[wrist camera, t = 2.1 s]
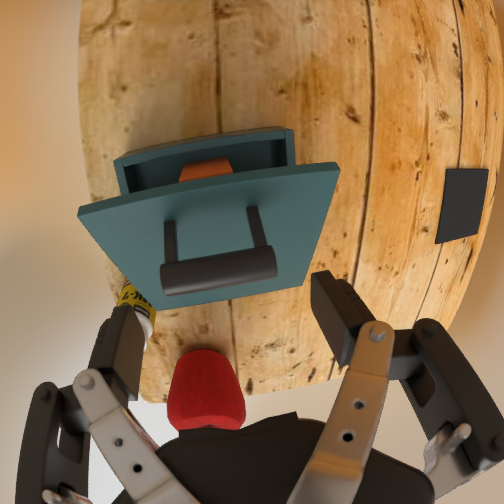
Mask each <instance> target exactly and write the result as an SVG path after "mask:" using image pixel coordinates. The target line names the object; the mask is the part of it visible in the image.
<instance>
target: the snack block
mask: <svg viewBox="0 0 504 504" xmlns="http://www.w3.org/2000/svg"><path fill="white" fill-rule="evenodd" d="M232 173H233V170H232V168H231V166H230V164H229V162H228V160H227V158H226V156H220V157H214V158H208V159H203V160H197V161H191V162H186V163H185V164H184V167H183V170H182V173H181V176H180V178H179V183H181V182H186V181H191V180H197V179H202V178H208V177H214V176H220V175H226V174H232Z"/></svg>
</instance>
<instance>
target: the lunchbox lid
mask: <svg viewBox="0 0 504 504" xmlns="http://www.w3.org/2000/svg"><path fill="white" fill-rule="evenodd" d="M339 174H340V168H339V166H338V165H337V163H336V162H324V163H313V164H303V165H293V166H284V167H276V168H268V169H260V170H253V171H246V172H239V173H232V174H226V175H220V176H214V177H208V178H202V179H197V180H191V181H186V182H181V183H176V184H171V185H166V186H161V187H156V188H152V189H147V190H143V191H139V192H134V193H130V194H126V195H122V196H118V197H114V198H110V199H106V200H102V201H98V202H95V203H91V204H88V205H84V206H80V207H79V210H78V214H77V217H78V218H79V220H80V221H81V222H82V223H83V225H84V226H85V228H86V229H87V230H88V232H89V233H90V234H91V236H92V237H93V238H94V239H95V241H96V242H97V243H98V244H99V246H100V247H101V248H102V249H103V251H104V252H105V253H106V254H107V255H108V257H109V258H110V259H111V260H112V261H113V263H114V264H115V265H116V266H117V267H118V269H119V270H120V271H121V272H122V273H123V274H124V275H125V277H126V278H127V279H128V280H129V281H130V282H131V283H132V284H133V286H134V287H135V288H136V289H137V290H138V291H139V292H140V293H141V294H142V295H143V297H144V298H145V299H146V300H147V301H148V302H149V303H150V304H151V305H152V306H153V307H154V308H155V309H156V310H157V311H161V310H168V309H174V308H181V307H187V306H193V305H200V304H206V303H212V302H217V301H223V300H229V299H234V298H240V297H246V296H251V295H256V294H262V293H267V292H272V291H277V290H282V289H287V288H292V287H297V286H302V285H303V282H304V279H305V277H306V274H307V271H308V268H309V265H310V263H311V260H312V257H313V254H314V251H315V248H316V245H317V243H318V240H319V237H320V234H321V231H322V228H323V225H324V222H325V219H326V216H327V212H328V209H329V206H330V203H331V200H332V197H333V193H334V190H335V187H336V184H337V180H338V177H339Z"/></svg>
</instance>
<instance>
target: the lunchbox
mask: <svg viewBox="0 0 504 504" xmlns="http://www.w3.org/2000/svg"><path fill="white" fill-rule="evenodd" d="M220 156H226V158H227V160H228V162H229V164H230V166H231V168H232V170H233V173H239V172H246V171H253V170H260V169H268V168H276V167H284V166H293V165H296V162H295V148H294V134H293V130H292V129H289V128H285V127H281V126H277V127H267V128H257V129H248V130H240V131H233V132H226V133H219V134H212V135H206V136H200V137H195V138H189V139H184V140H179V141H174V142H169V143H165V144H160V145H156V146H151V147H147V148H143V149H139V150H135V151H131V152H127V153H125V154H123V155H122V156H120V157H118V158H117V159H115V160H114V161H113V162H114V167H115V171H116V175H117V179H118V183H119V187H120V191H121V195H126V194H130V193H134V192H139V191H143V190H147V189H152V188H156V187H161V186H166V185H171V184H176V183H179V178H180V176H181V173H182V170H183V167H184V164H185V163H186V162H191V161H197V160H203V159H208V158H214V157H220Z"/></svg>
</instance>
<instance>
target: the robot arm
mask: <svg viewBox="0 0 504 504" xmlns="http://www.w3.org/2000/svg"><path fill="white" fill-rule="evenodd" d="M310 301H311V308H312V311H313V314H314V316H315V318H316V320H317V322H318V324H319V326H320V328H321V330H322V332H323V334H324V336H325V338H326V340H327V342H328V344H329V346H330V348H331V350H332V352H333V354H334V356H335V358H336V360H337V362H338V364H339V366H340V367H342V366H345V365H348V366H349V367H348V369H347V370H346V373H345V376H344V379H343V381H342V384H341V387H340V390H339V392H338V395H337V398H336V400H335V403H334V405H333V408H332V410H331V413H330V415H329V418H328V420H327V422H326V423H325V422H322V421H319V420H314V419H307V418H306V419H305V418H298V416H297V413H296V411H295V412H291V413H287V414H282V415H279V416H273V417H268V418H265V419H263V420H261V421H258V422H256V423H254V424H251V425H249V426H247V427H244V428H241V429H238V430H231V429H220V428H210V427H203V428H193V429H180V430H179V437H178V438H175V439H173V440H171V441H169V442H167V443H165V444H164V445H162V446H161V447H159V446H158V445H157V444H156V443H155V441H154V440H153V439H152V438H151V437H150V436H149V435H148V433H147V432H146V431H145V429H144V428H143V427H142V426H141V424H140V423H139V422H138V420H137V419H136V418H135V416H134V415H133V414H132V412H131V411H130V410H129V409H128V401H138V391H139V383H140V375H141V367H142V360H143V353H144V346H145V334H144V330H143V328H142V326H141V324H140V322H139V319H138V317H137V315H136V313H135V311H134V308H133V307H132V305H130V304H129V305H122V306H115V307H114V309H113V312H112V315H111V318H109V319H106V320H105V322H104V323H103V324H102V326H101V327H100V329H99V333H98V337H97V339H96V342H95V345H94V348H93V351H92V355H91V358H90V361H89V365H88V368H87V369H86V370H83V371H81V372H80V373H79V374H78V375H77V376H76V377H75V379H74V381H73V384H72V385H69V386H66V387H63V388H59V389H58V388H57V387H56V386H55V384H54V383H52V382H44V383H42V384H40V385H39V386H38V387H37V388H36V390H35V391H34V394H33V397H32V401H31V404H30V409H29V412H28V416H27V421H26V426H25V430H24V434H23V440H22V445H21V451H20V457H19V464H18V472H17V481H16V495H15V504H93V503H92V502H91V501H90V500H89V499H88V470H89V467H88V466H89V450H90V438H91V436H92V437H93V439H94V441H95V443H96V445H97V446H98V448H99V449H100V451H101V453H102V455H103V456H104V458H105V460H106V461H107V463H108V464H109V466H110V467H111V469H112V470H113V472H114V473H115V475H116V476H117V478H118V479H119V481H120V482H121V484H122V485H123V486H124V490H123V491H122V492H121V494H119V495H118V497H117V498H116V499H115V500H114V501H113V502H112V504H434V503H435V500H436V499H438V498H440V497H442V496H443V495H445V494H447V493H448V492H450V491H452V490H453V489H455V488H456V487H458V486H460V485H463V484H464V483H466V482H468V481H470V480H472V479H473V478H475V477H477V476H479V475H480V474H482V473H484V472H485V471H487V470H488V469H490V468H492V467H493V466H495V465H496V464H498V463H499V462H501V461H502V460H503V459H504V418H503V416H502V415H501V413H500V411H499V409H498V408H497V406H496V404H495V403H494V401H493V399H492V397H491V396H490V394H489V393H488V391H487V389H486V388H485V386H484V385H483V383H482V382H481V380H480V378H479V377H478V375H477V374H476V372H475V371H474V369H473V368H472V367H471V365H470V363H469V362H468V361H467V359H466V358H465V356H464V355H463V353H462V352H461V351H460V349H459V348H458V346H457V345H456V344H455V342H454V341H453V339H452V338H451V337H450V335H449V334H448V333H447V331H446V330H445V329H444V327H443V326H442V325H441V324H440V323H439V322H437V321H436V320H434V319H430V318H423V319H420V320H418V321H417V322H416V323H415V324H414V327H413V329H404V330H393V328H392V327H391V326H390V325H389V324H387V323H385V322H382V321H377V320H376V319H375V317H374V316H373V314H372V313H371V312H370V310H369V309H368V308H367V306H366V305H365V303H364V302H363V301H362V299H360V297H359V295H358V294H357V293H356V291H355V290H354V288H353V287H352V286H351V284H349V283H348V282H346V281H344V280H343V279H337V280H336V279H335V278H334V277H333V275H332V274H331V272H330V271H329V270H325V271H320V272H315V273H312V274H311V298H310ZM389 380H399V381H400V383H401V385H402V387H403V389H404V391H405V393H406V395H407V397H408V399H409V401H410V403H411V405H412V407H413V409H414V411H415V413H416V415H417V417H418V419H419V422H420V424H421V426H422V428H423V430H424V432H425V434H426V437H427V439H428V441H429V442H428V443H427V445H426V446H425V449H424V459H425V469H424V472H422V471H420V470H419V469H416V468H414V467H412V466H410V465H407V464H405V463H403V462H401V461H399V460H396V459H394V458H392V457H390V456H388V455H386V454H384V453H382V452H380V451H378V450H376V449H374V448H372V444H373V441H374V438H375V435H376V431H377V428H378V424H379V421H380V417H381V414H382V410H383V406H384V401H385V398H386V393H387V389H388V384H389ZM59 427H60V428H61V435H60V441H59V448H58V446H57V437H58V430H59Z"/></svg>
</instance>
